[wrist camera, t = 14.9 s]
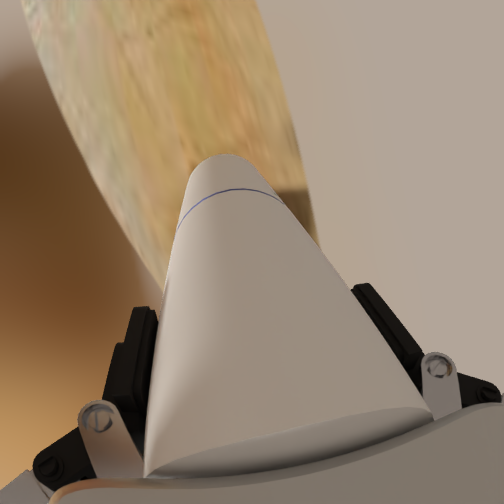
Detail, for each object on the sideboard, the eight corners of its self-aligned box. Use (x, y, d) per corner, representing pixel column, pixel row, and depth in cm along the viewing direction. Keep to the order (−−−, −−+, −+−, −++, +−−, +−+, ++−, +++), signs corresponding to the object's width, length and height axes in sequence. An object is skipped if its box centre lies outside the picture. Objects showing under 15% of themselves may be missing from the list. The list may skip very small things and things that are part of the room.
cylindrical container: (206, 141, 25) (211, 384, 3) (276, 174, 27) (475, 403, 5) (175, 210, 27) (123, 505, 5) (241, 237, 30) (319, 510, 8)
